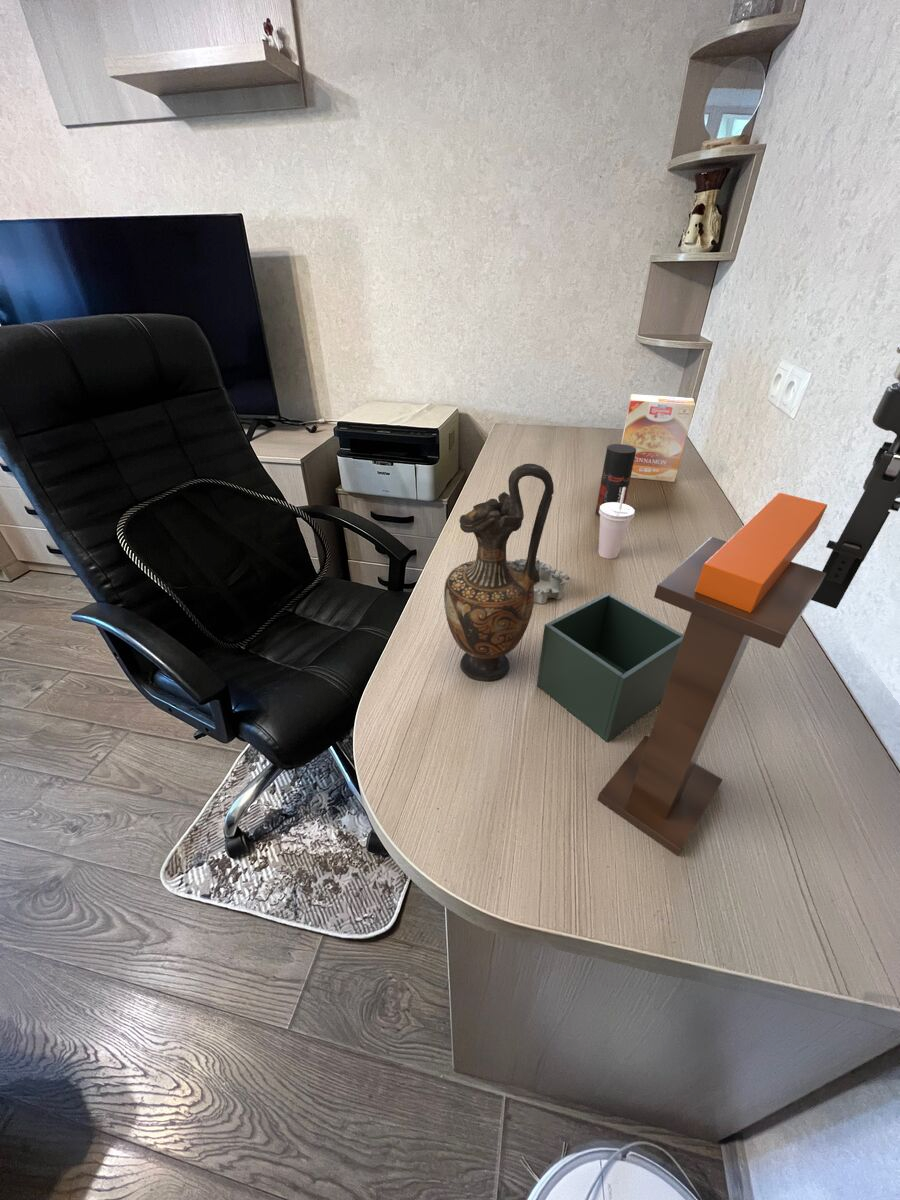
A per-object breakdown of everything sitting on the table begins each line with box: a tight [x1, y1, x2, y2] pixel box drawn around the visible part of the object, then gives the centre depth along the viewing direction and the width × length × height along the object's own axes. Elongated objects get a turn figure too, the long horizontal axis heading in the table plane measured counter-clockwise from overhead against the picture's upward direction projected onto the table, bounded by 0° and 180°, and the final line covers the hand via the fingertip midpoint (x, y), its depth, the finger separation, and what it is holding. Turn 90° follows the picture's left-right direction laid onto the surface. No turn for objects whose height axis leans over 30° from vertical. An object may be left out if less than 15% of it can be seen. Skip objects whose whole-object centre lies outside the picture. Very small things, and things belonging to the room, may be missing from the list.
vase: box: [443, 463, 555, 682], centre depth 63 cm, size 12×12×30 cm
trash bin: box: [536, 592, 684, 743], centre depth 65 cm, size 12×12×11 cm
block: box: [695, 492, 828, 613], centre depth 41 cm, size 18×4×2 cm, turn 136°
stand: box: [597, 536, 826, 857], centre depth 47 cm, size 11×9×28 cm
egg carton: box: [507, 557, 571, 605], centre depth 88 cm, size 11×8×4 cm
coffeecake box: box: [620, 393, 696, 483], centre depth 128 cm, size 15×7×20 cm, turn 73°
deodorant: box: [595, 443, 636, 518], centre depth 110 cm, size 6×6×15 cm
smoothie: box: [598, 487, 636, 560], centre depth 95 cm, size 6×6×14 cm
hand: (837, 578), depth 59 cm, fingers open, 13 cm apart
